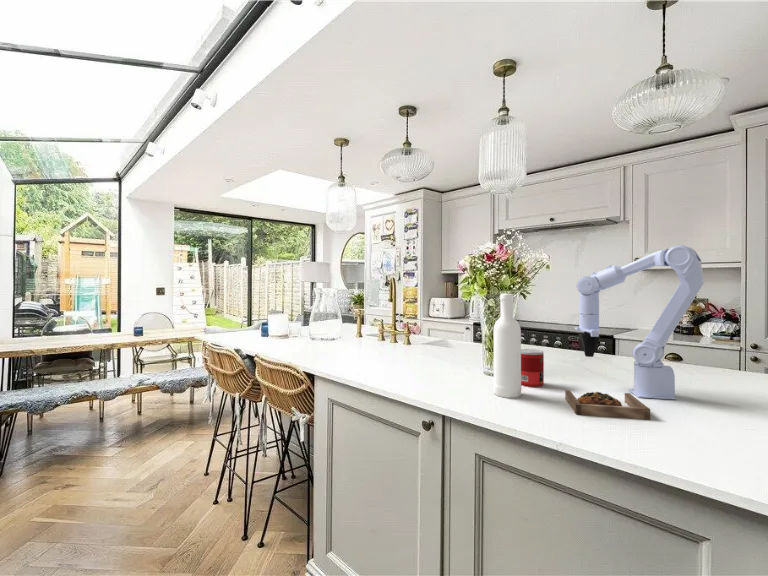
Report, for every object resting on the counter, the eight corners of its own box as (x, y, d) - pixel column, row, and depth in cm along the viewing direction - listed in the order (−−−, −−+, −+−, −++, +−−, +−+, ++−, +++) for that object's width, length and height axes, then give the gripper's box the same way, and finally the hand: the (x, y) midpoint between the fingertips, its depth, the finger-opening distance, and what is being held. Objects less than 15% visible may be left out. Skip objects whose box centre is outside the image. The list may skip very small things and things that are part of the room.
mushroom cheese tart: (601, 416, 99) (599, 395, 99) (566, 409, 109) (565, 390, 110) (633, 412, 103) (631, 392, 103) (597, 406, 113) (595, 388, 113)
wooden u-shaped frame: (629, 402, 110) (629, 393, 110) (650, 419, 96) (650, 409, 96) (565, 398, 114) (565, 389, 114) (576, 414, 100) (576, 404, 100)
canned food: (546, 387, 126) (545, 353, 125) (519, 386, 127) (519, 352, 127) (541, 381, 133) (540, 349, 133) (516, 381, 135) (515, 348, 134)
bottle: (496, 398, 115) (496, 294, 114) (490, 390, 123) (490, 293, 122) (525, 398, 114) (524, 294, 114) (517, 390, 122) (516, 293, 122)
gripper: (570, 312, 135) (570, 352, 135) (580, 315, 121) (580, 360, 121) (593, 312, 134) (593, 352, 134) (606, 316, 120) (606, 361, 120)
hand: (589, 356), depth 127 cm, fingers closed
